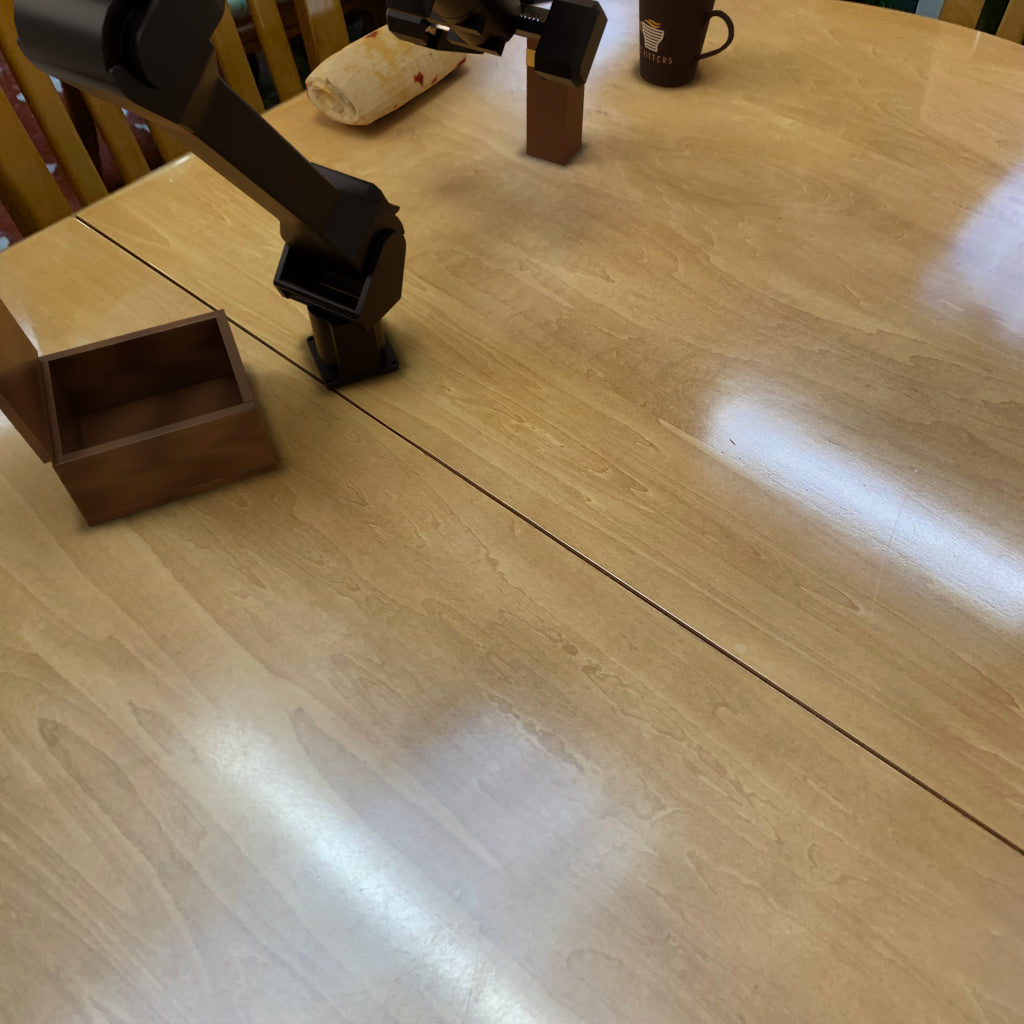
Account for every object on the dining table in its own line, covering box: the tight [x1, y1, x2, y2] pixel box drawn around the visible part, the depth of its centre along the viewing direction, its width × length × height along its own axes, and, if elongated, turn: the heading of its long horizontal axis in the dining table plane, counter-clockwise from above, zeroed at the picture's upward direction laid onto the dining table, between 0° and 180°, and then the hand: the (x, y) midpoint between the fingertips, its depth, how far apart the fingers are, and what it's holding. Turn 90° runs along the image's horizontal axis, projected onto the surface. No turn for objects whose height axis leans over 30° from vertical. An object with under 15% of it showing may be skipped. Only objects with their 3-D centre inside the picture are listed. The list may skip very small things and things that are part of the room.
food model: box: [304, 24, 468, 126], centre depth 102 cm, size 10×7×20 cm
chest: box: [38, 308, 278, 527], centre depth 70 cm, size 14×12×7 cm
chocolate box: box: [525, 20, 586, 166], centre depth 92 cm, size 4×5×12 cm
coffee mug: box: [638, 0, 735, 88], centre depth 102 cm, size 12×9×10 cm
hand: (527, 60), depth 85 cm, fingers open, 9 cm apart
